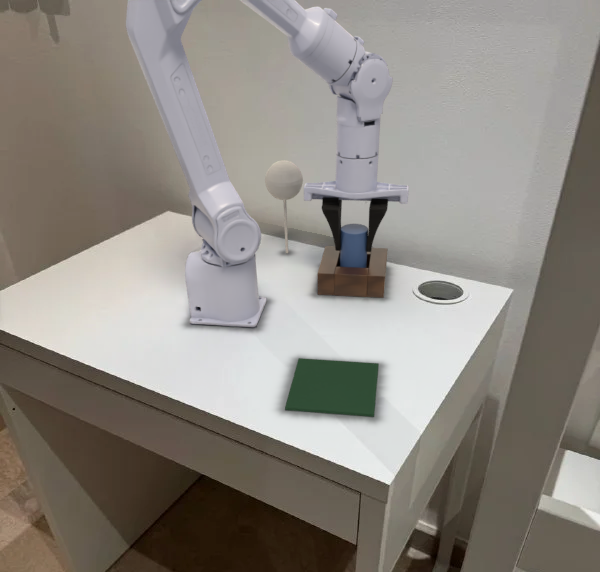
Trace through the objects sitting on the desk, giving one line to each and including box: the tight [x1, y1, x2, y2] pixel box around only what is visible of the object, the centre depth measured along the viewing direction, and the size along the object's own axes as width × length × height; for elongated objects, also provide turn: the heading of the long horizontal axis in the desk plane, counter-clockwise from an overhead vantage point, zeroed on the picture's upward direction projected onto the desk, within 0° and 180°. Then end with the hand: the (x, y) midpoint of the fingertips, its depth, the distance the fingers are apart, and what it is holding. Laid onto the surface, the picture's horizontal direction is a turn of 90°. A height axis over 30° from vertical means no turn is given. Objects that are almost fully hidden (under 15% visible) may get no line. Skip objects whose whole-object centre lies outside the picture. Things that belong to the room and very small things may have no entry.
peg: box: [340, 223, 369, 268], centre depth 88 cm, size 4×4×8 cm
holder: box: [316, 245, 389, 299], centre depth 90 cm, size 10×10×4 cm
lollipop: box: [264, 159, 304, 254], centre depth 96 cm, size 6×6×15 cm
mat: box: [284, 357, 380, 418], centre depth 70 cm, size 10×10×1 cm
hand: (353, 248), depth 88 cm, fingers closed on peg, 4 cm apart
